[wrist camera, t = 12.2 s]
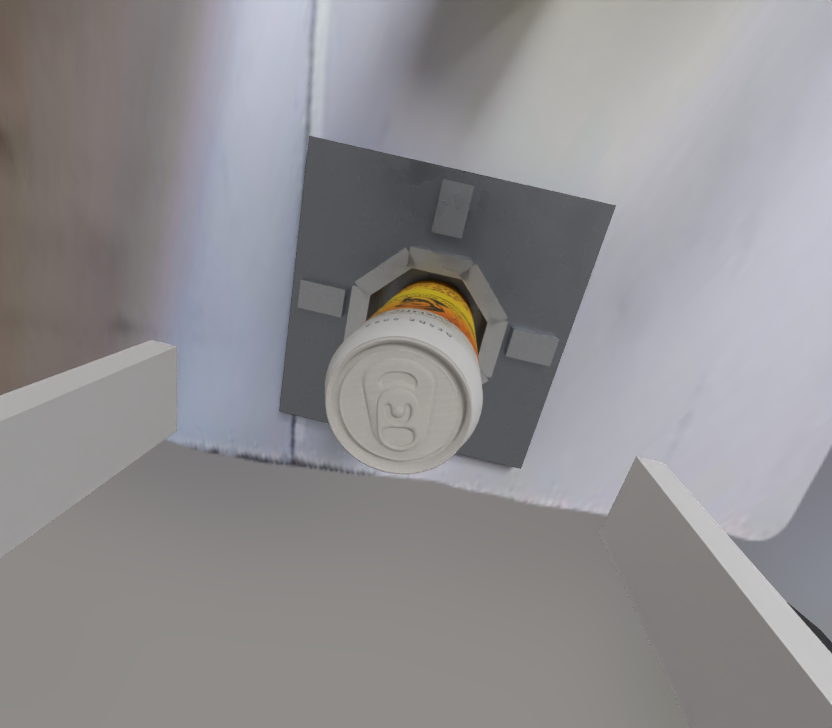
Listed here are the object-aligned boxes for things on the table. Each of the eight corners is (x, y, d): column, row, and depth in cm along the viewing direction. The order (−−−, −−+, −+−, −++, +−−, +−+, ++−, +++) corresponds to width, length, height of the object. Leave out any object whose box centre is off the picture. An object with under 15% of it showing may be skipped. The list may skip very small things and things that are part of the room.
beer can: (474, 278, 27) (489, 327, 12) (471, 362, 28) (480, 488, 14) (387, 277, 27) (306, 324, 13) (390, 360, 29) (321, 478, 15)
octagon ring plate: (315, 140, 26) (287, 120, 22) (608, 206, 26) (641, 201, 21) (285, 405, 32) (258, 431, 28) (518, 460, 32) (528, 496, 28)
